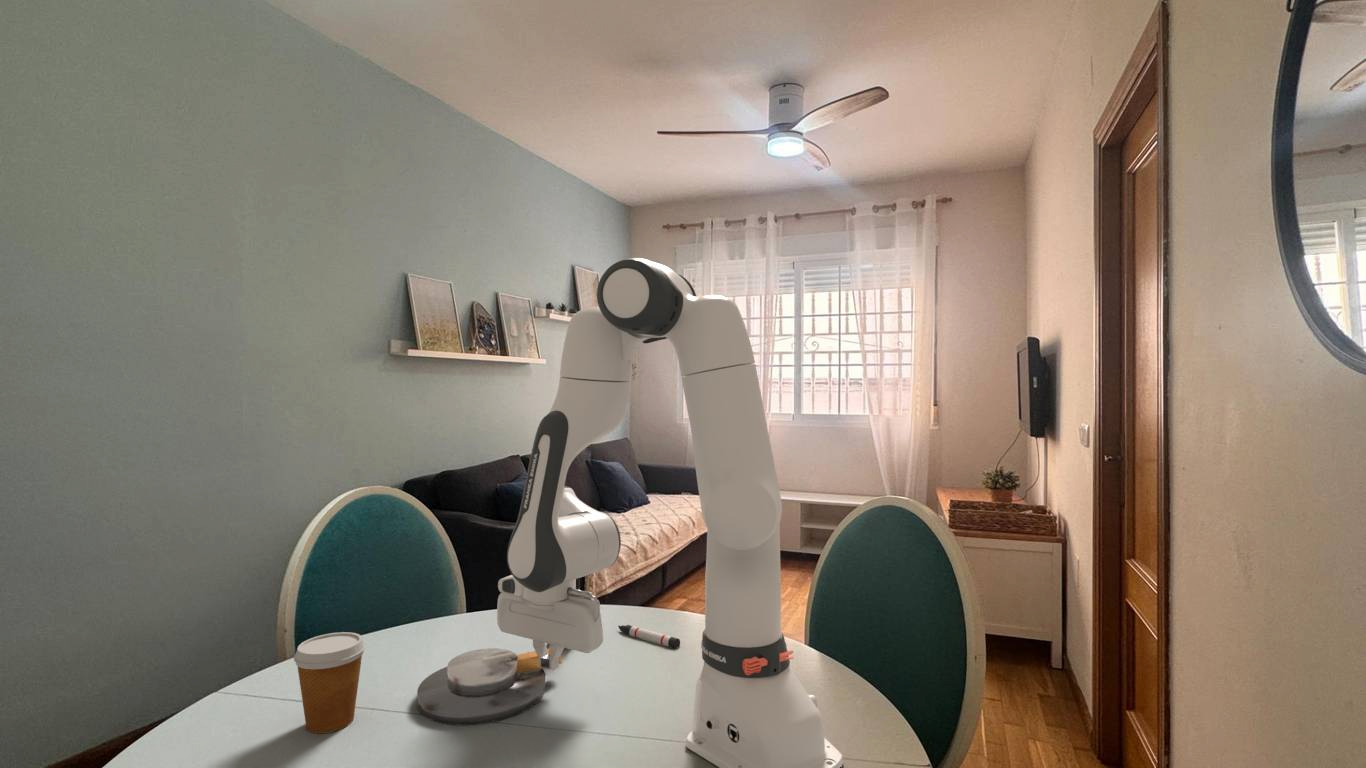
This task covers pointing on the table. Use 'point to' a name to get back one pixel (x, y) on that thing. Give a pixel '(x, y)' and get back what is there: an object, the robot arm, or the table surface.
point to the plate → (478, 699)
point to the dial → (488, 670)
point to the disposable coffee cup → (329, 679)
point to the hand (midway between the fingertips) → (548, 667)
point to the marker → (650, 636)
